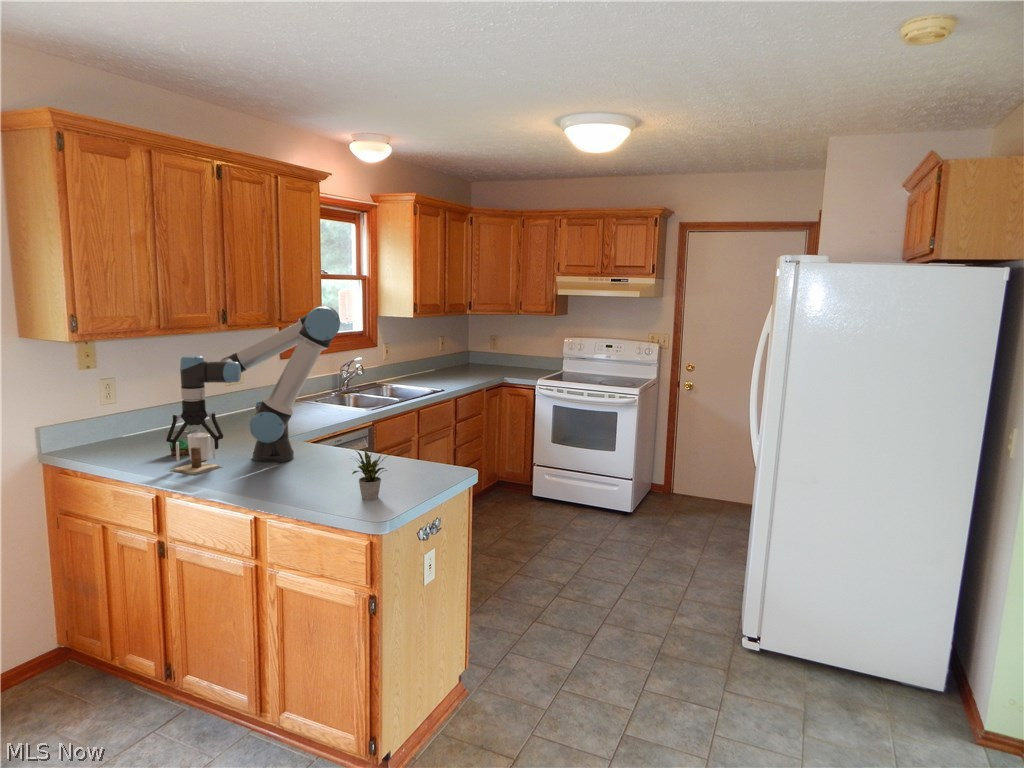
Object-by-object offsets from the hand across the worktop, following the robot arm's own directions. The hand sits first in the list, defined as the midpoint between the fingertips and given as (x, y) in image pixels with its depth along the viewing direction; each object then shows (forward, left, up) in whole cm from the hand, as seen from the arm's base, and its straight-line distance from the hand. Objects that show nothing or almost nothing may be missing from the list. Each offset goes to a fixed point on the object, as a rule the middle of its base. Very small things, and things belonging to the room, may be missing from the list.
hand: (196, 459), depth 237 cm
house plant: (-71, -3, -4) cm, 71 cm away
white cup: (+10, -11, -4) cm, 15 cm away
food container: (+21, -13, -4) cm, 25 cm away
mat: (0, 0, -4) cm, 4 cm away
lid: (0, 0, -4) cm, 4 cm away
